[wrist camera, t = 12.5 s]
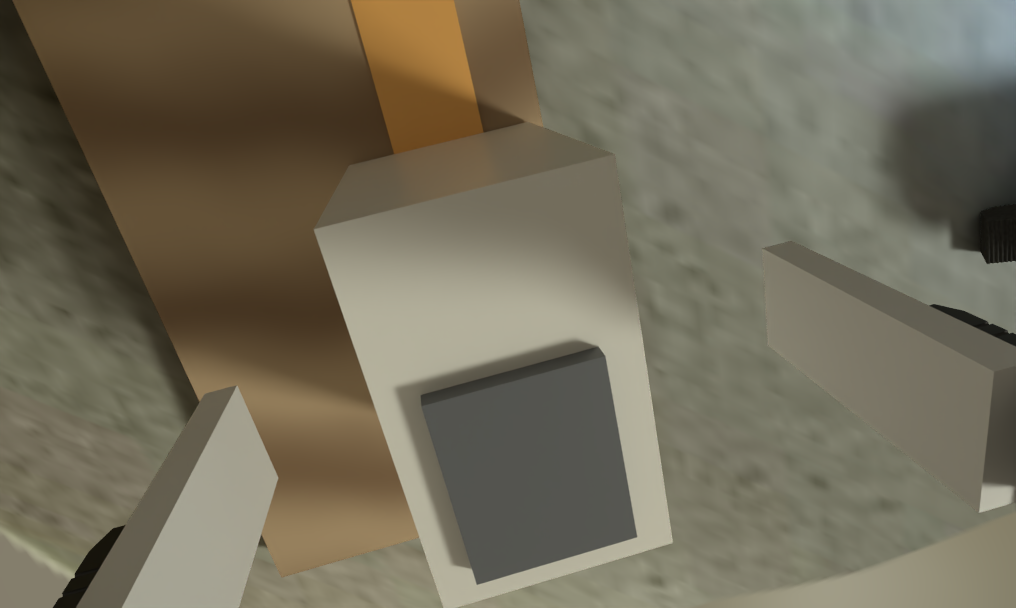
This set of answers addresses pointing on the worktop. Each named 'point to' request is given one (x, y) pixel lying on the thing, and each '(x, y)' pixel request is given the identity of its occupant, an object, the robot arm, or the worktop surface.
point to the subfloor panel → (274, 200)
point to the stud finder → (502, 353)
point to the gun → (998, 234)
